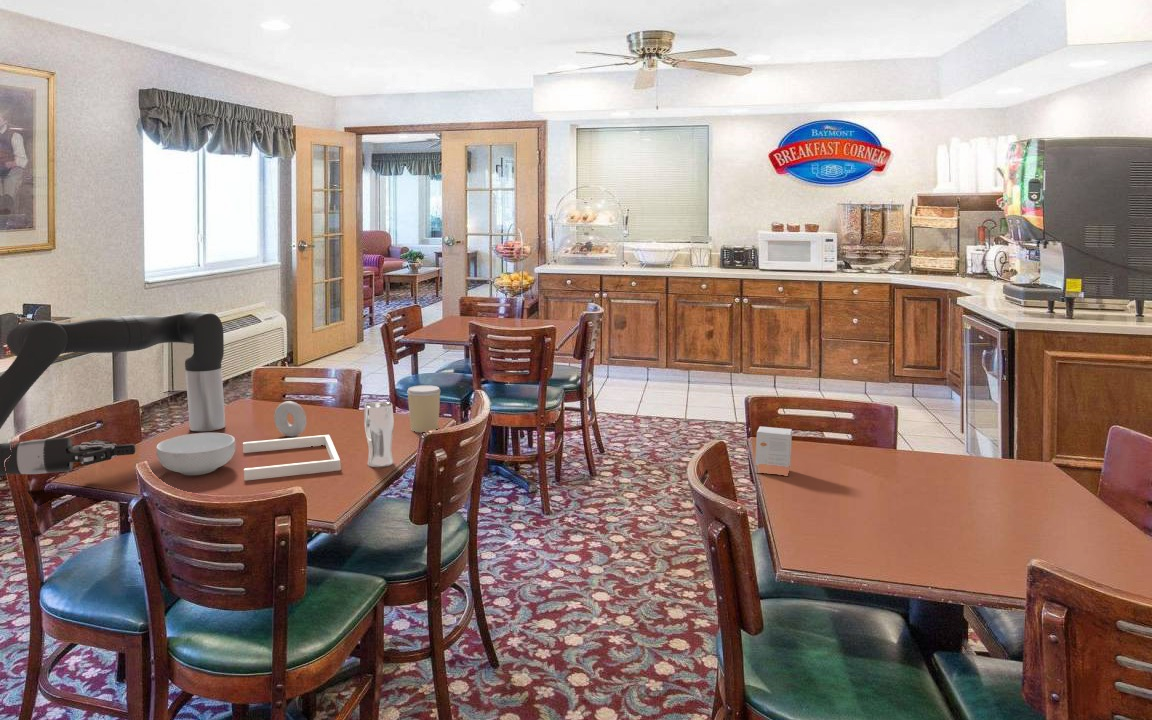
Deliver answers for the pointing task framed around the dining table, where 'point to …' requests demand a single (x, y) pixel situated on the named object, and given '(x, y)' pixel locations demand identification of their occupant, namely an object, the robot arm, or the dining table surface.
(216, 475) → the dining table surface
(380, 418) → the beer glass
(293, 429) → the donut
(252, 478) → the bowl bay
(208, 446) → the cereal bowl
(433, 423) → the coffee cup
